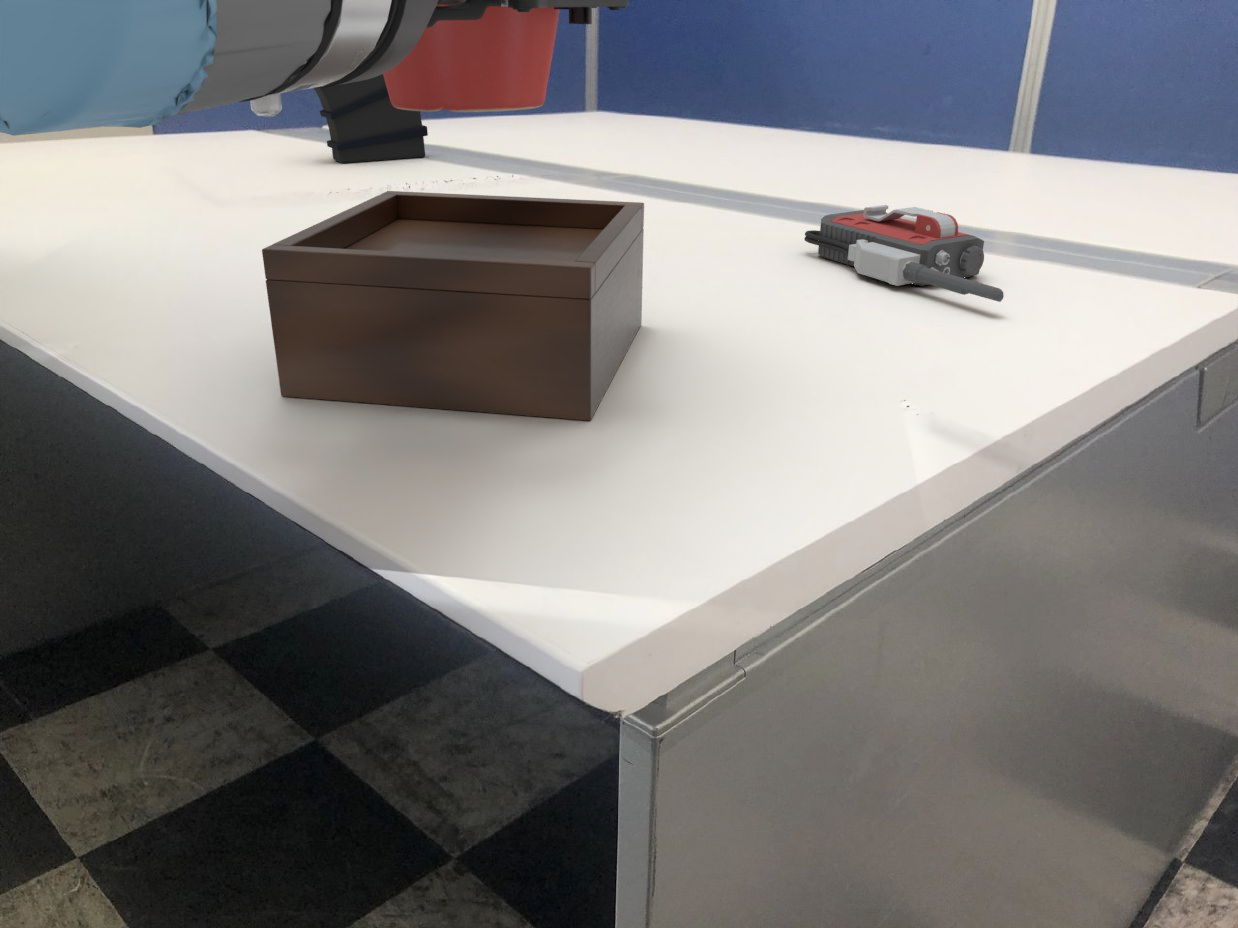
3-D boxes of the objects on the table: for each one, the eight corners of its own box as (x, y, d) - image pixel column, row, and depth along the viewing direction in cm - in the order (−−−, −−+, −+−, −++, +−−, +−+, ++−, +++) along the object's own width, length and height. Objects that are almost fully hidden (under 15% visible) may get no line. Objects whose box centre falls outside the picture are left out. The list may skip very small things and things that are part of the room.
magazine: (451, 141, 126) (392, 22, 117) (362, 197, 122) (294, 78, 113) (438, 138, 128) (380, 20, 119) (351, 192, 125) (284, 76, 116)
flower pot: (369, 97, 56) (351, -104, 52) (568, 97, 57) (566, -100, 53) (344, 118, 47) (320, -126, 43) (583, 117, 48) (582, -120, 44)
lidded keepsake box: (280, 396, 52) (260, 249, 49) (396, 309, 66) (387, 190, 63) (590, 421, 49) (591, 267, 46) (641, 324, 64) (644, 202, 61)
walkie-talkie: (781, 255, 81) (987, 320, 65) (785, 199, 79) (998, 251, 64) (862, 243, 85) (1072, 301, 70) (868, 189, 83) (1086, 236, 68)
